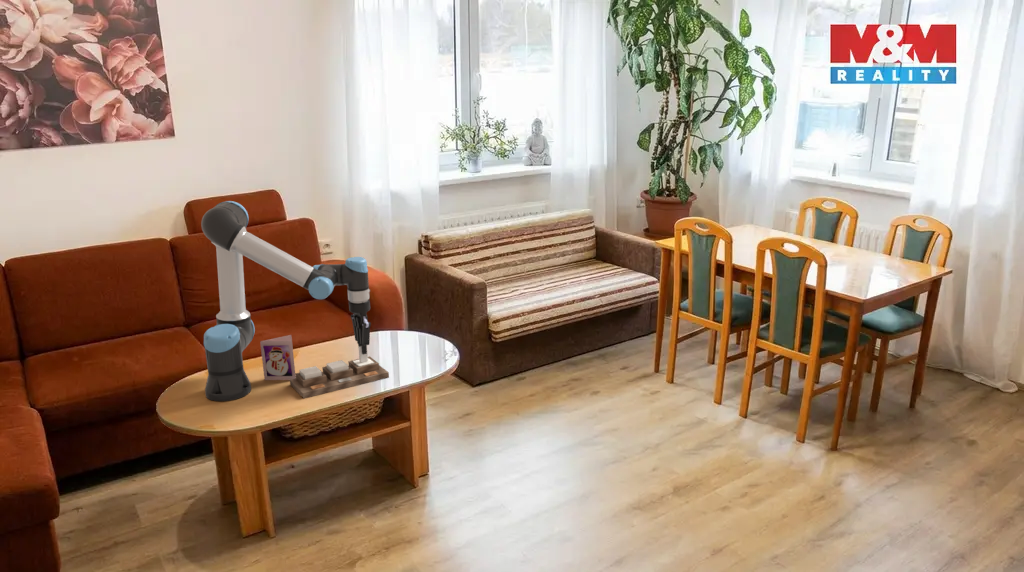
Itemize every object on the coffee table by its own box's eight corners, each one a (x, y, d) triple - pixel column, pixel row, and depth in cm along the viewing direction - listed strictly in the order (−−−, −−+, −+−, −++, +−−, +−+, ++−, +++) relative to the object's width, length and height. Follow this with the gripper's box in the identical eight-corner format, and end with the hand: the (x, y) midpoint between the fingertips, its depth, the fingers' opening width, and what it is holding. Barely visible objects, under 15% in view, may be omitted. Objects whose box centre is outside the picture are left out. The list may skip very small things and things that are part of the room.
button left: (305, 381, 277) (305, 375, 276) (299, 376, 282) (299, 369, 281) (322, 377, 280) (321, 371, 279) (316, 372, 285) (315, 366, 284)
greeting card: (263, 381, 287) (259, 342, 283) (269, 372, 294) (265, 334, 290) (295, 380, 287) (291, 341, 282) (300, 372, 294) (296, 334, 290)
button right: (359, 372, 288) (359, 366, 287) (353, 367, 293) (352, 361, 292) (374, 368, 291) (374, 362, 290) (368, 363, 296) (367, 357, 295)
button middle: (332, 375, 282) (332, 368, 281) (326, 369, 287) (326, 363, 286) (348, 371, 285) (348, 365, 285) (342, 366, 290) (342, 360, 289)
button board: (303, 398, 272) (302, 386, 271) (290, 384, 283) (289, 373, 282) (388, 377, 289) (388, 365, 287) (373, 365, 300) (372, 354, 299)
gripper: (376, 302, 281) (380, 364, 288) (361, 293, 291) (366, 353, 298) (356, 306, 277) (361, 369, 284) (342, 297, 287) (347, 358, 294)
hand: (363, 361), depth 291 cm, fingers closed
